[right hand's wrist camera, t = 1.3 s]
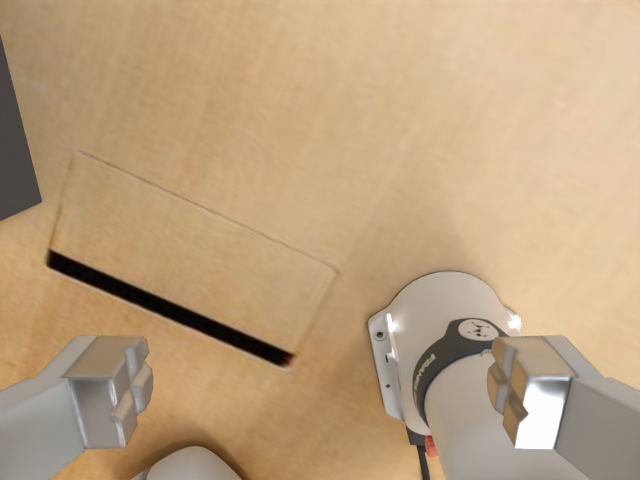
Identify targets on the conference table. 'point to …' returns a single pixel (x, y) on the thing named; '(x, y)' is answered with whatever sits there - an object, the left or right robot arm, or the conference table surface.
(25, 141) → the bar
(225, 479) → the white arched housing
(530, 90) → the conference table surface
